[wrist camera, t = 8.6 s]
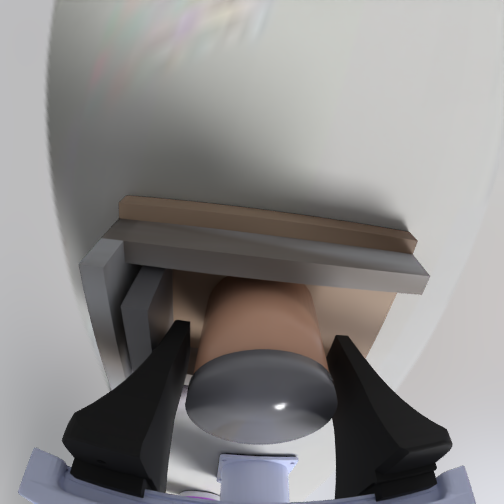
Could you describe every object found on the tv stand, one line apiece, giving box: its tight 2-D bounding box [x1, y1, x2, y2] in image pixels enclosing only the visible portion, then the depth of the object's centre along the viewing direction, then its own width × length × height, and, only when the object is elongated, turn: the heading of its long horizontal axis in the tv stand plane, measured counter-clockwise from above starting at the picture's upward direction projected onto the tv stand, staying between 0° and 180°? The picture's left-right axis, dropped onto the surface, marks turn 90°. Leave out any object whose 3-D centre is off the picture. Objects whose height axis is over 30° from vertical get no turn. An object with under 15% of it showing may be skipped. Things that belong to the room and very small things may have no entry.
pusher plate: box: [121, 265, 174, 372], centre depth 13 cm, size 6×1×4 cm, turn 173°
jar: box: [185, 276, 338, 444], centre depth 13 cm, size 6×6×6 cm
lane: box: [79, 195, 430, 390], centre depth 14 cm, size 10×14×5 cm
